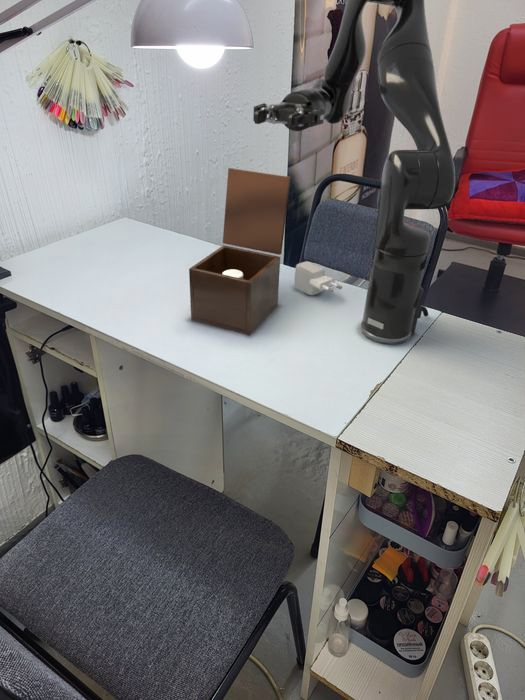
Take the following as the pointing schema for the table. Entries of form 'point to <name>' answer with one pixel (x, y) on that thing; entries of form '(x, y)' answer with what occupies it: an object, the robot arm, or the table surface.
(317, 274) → the power adapter
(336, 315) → the table surface
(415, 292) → the robot arm
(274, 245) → the lid
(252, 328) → the supply box
